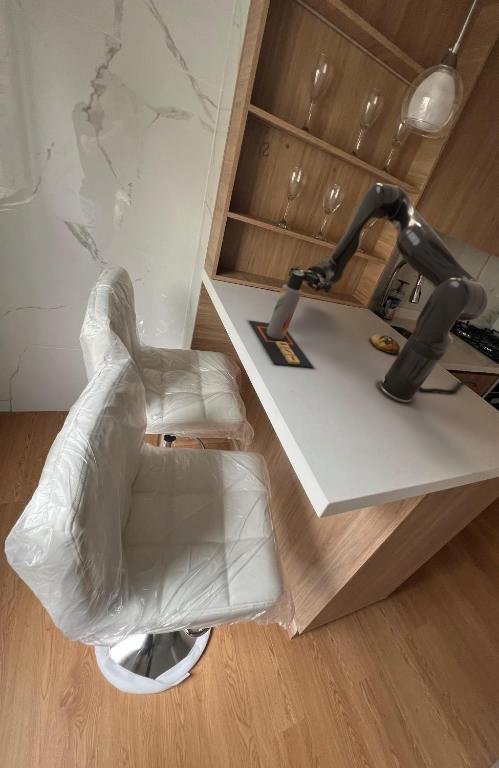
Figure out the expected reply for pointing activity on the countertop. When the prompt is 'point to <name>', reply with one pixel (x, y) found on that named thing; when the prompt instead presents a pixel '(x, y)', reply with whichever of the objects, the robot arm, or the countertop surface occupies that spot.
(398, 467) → the countertop surface
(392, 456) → the countertop surface
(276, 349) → the mat
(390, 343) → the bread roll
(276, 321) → the lotion bottle
